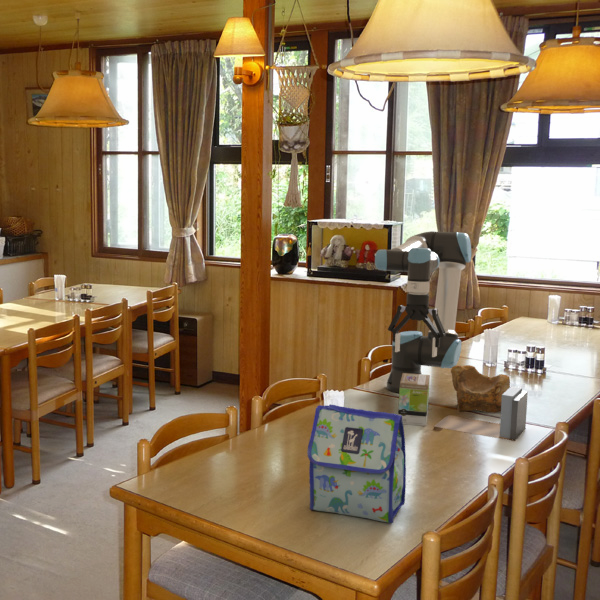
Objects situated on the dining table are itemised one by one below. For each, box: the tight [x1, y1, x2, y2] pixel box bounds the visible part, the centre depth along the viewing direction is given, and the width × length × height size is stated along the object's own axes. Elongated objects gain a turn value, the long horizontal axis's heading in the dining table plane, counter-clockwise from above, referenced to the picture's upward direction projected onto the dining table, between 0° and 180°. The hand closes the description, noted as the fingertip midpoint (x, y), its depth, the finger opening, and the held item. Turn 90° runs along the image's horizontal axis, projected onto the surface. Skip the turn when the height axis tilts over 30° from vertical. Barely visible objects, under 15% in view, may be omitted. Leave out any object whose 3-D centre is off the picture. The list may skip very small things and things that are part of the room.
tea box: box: [397, 373, 431, 427], centre depth 257 cm, size 15×10×15 cm, turn 168°
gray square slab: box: [510, 389, 529, 441], centre depth 239 cm, size 2×13×13 cm, turn 150°
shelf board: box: [433, 414, 527, 442], centre depth 247 cm, size 27×15×1 cm, turn 60°
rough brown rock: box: [450, 364, 511, 414], centre depth 268 cm, size 23×17×15 cm
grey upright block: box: [499, 385, 523, 439], centre depth 240 cm, size 4×12×14 cm, turn 150°
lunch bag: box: [306, 403, 407, 524], centre depth 182 cm, size 22×17×26 cm
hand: (415, 354), depth 254 cm, fingers open, 13 cm apart
